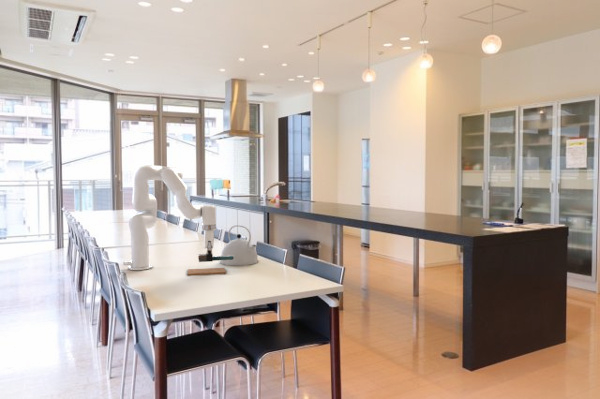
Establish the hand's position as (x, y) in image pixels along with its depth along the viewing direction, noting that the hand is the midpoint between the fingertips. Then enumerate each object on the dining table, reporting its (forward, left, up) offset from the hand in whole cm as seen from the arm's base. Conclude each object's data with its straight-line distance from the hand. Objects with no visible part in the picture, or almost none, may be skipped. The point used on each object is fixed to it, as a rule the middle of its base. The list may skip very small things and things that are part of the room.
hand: (209, 260), depth 253 cm
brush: (+4, 0, 0) cm, 4 cm away
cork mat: (-2, 0, -7) cm, 7 cm away
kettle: (+19, +25, -7) cm, 32 cm away
